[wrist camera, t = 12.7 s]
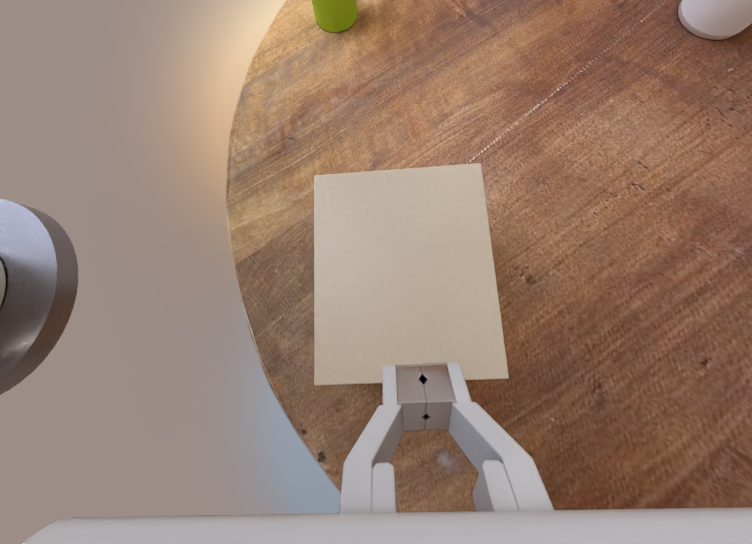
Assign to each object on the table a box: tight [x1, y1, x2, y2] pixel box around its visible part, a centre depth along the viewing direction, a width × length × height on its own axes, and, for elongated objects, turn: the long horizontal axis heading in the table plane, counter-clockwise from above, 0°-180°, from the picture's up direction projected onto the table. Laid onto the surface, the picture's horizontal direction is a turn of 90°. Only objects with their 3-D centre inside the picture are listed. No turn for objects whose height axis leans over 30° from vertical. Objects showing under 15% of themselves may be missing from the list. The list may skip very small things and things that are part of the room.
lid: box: [314, 163, 509, 385], centre depth 21 cm, size 16×14×1 cm
